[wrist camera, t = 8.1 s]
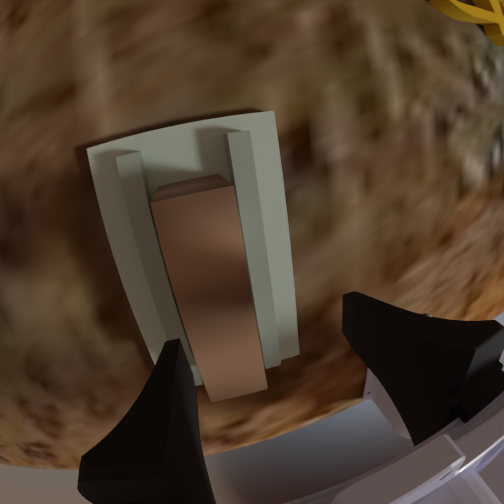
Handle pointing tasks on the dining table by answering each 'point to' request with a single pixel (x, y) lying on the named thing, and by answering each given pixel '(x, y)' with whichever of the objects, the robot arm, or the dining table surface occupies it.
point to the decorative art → (477, 15)
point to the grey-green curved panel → (249, 209)
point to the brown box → (211, 282)
